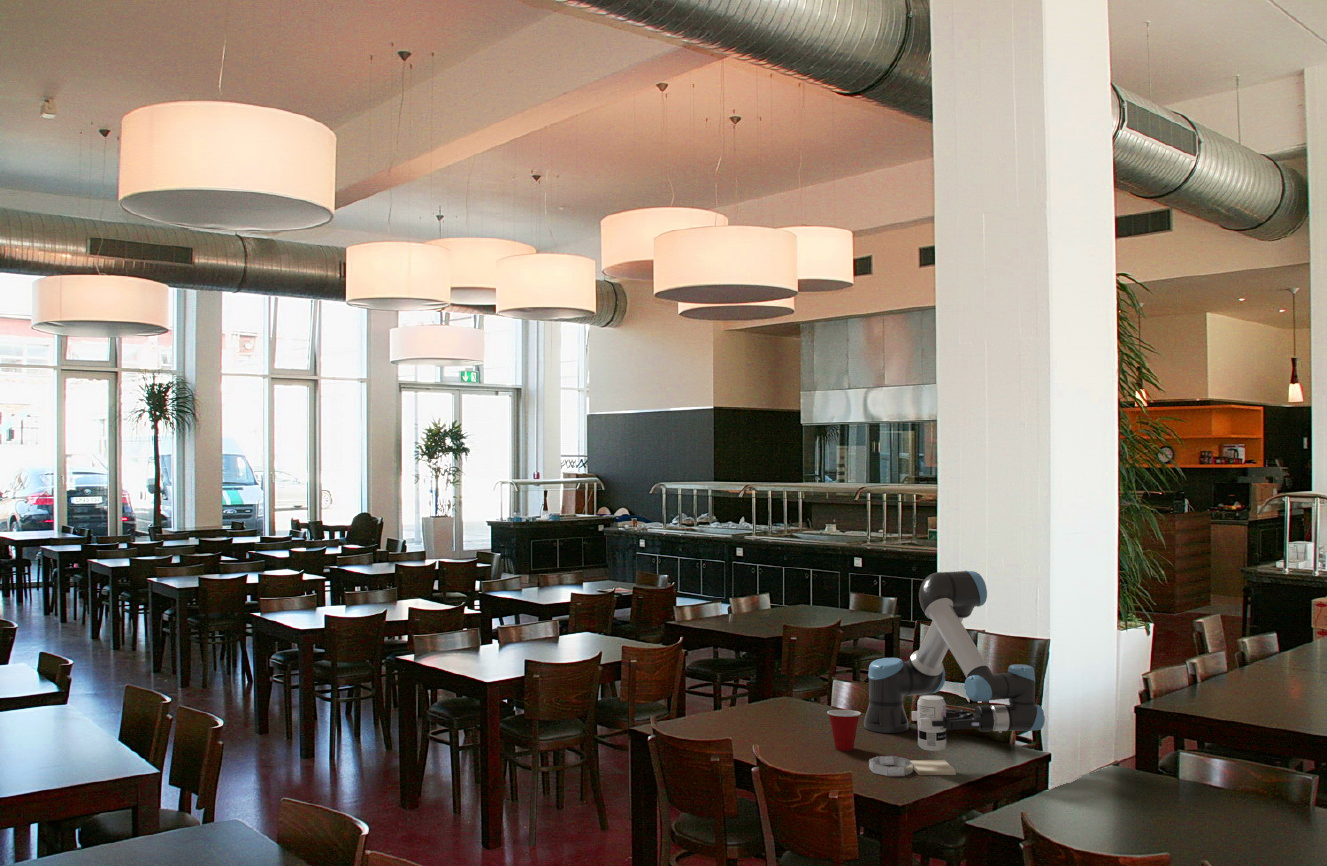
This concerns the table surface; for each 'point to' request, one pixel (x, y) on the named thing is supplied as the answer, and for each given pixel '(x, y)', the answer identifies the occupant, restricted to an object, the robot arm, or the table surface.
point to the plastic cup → (844, 728)
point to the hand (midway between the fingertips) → (916, 719)
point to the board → (932, 767)
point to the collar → (878, 767)
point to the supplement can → (931, 709)
